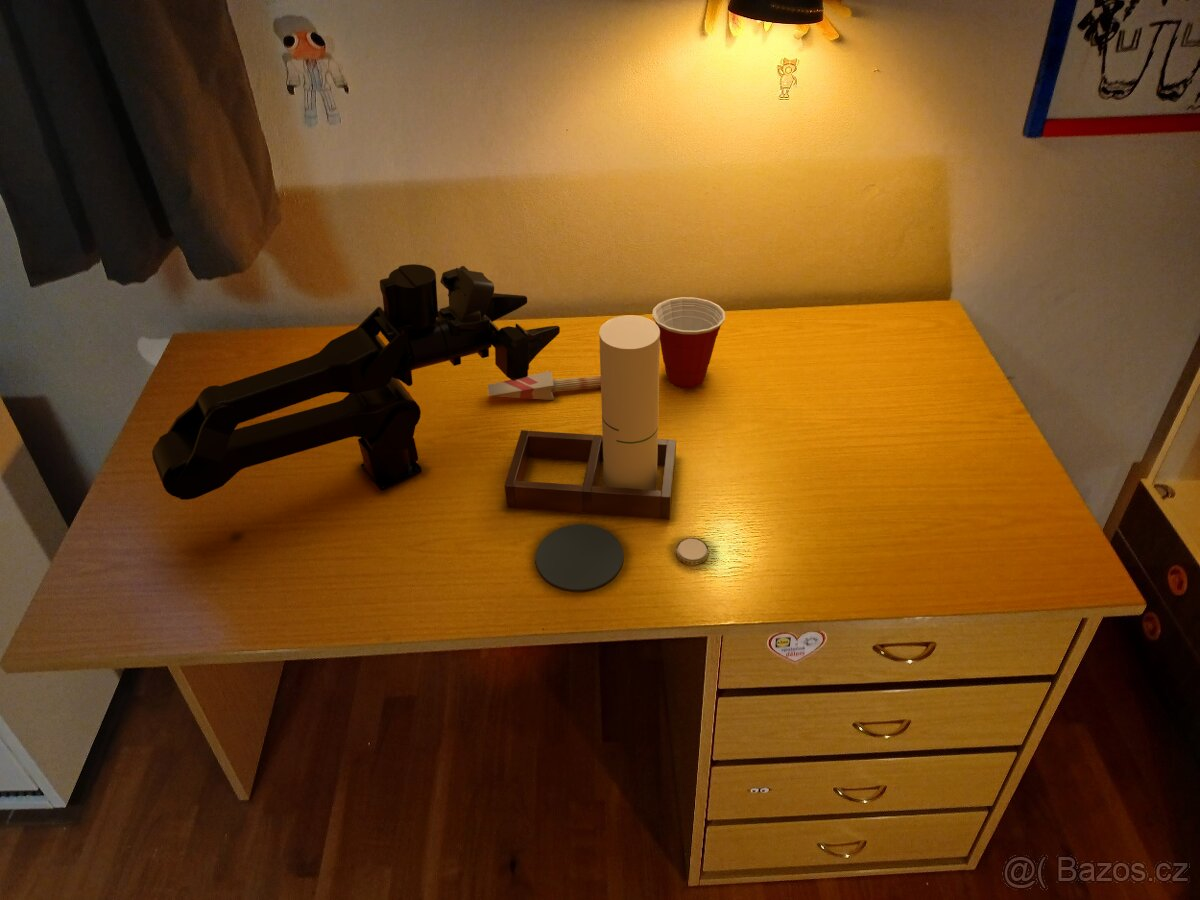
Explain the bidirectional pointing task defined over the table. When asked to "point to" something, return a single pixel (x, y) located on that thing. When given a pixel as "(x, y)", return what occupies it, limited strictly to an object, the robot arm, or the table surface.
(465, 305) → the robot arm
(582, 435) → the rectangular frame
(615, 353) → the cylindrical container
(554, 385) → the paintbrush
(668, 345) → the plastic cup
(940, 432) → the table surface
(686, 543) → the bottle cap
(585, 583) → the coaster
